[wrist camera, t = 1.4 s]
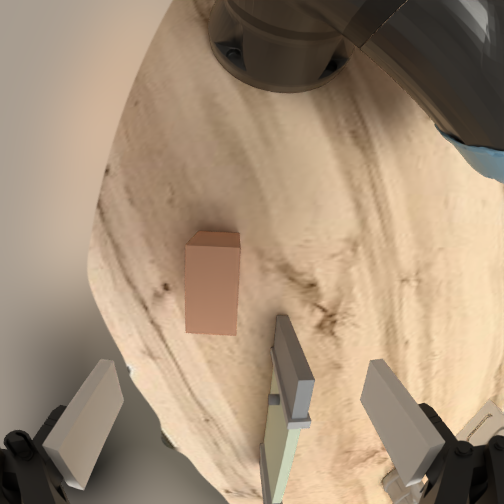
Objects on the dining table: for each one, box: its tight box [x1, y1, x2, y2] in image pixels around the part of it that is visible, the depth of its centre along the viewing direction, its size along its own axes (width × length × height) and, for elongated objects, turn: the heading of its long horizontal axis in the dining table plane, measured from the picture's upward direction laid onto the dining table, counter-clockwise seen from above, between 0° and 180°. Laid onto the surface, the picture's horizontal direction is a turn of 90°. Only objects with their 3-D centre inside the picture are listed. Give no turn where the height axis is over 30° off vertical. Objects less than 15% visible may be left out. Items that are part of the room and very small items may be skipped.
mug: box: [383, 469, 425, 504], centre depth 34 cm, size 8×12×12 cm, turn 19°
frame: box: [259, 315, 315, 504], centre depth 28 cm, size 26×2×12 cm, turn 177°
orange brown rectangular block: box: [185, 231, 241, 336], centre depth 26 cm, size 7×4×8 cm, turn 176°
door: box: [264, 367, 301, 504], centre depth 28 cm, size 15×2×11 cm, turn 177°
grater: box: [455, 399, 504, 446], centre depth 30 cm, size 10×10×20 cm
